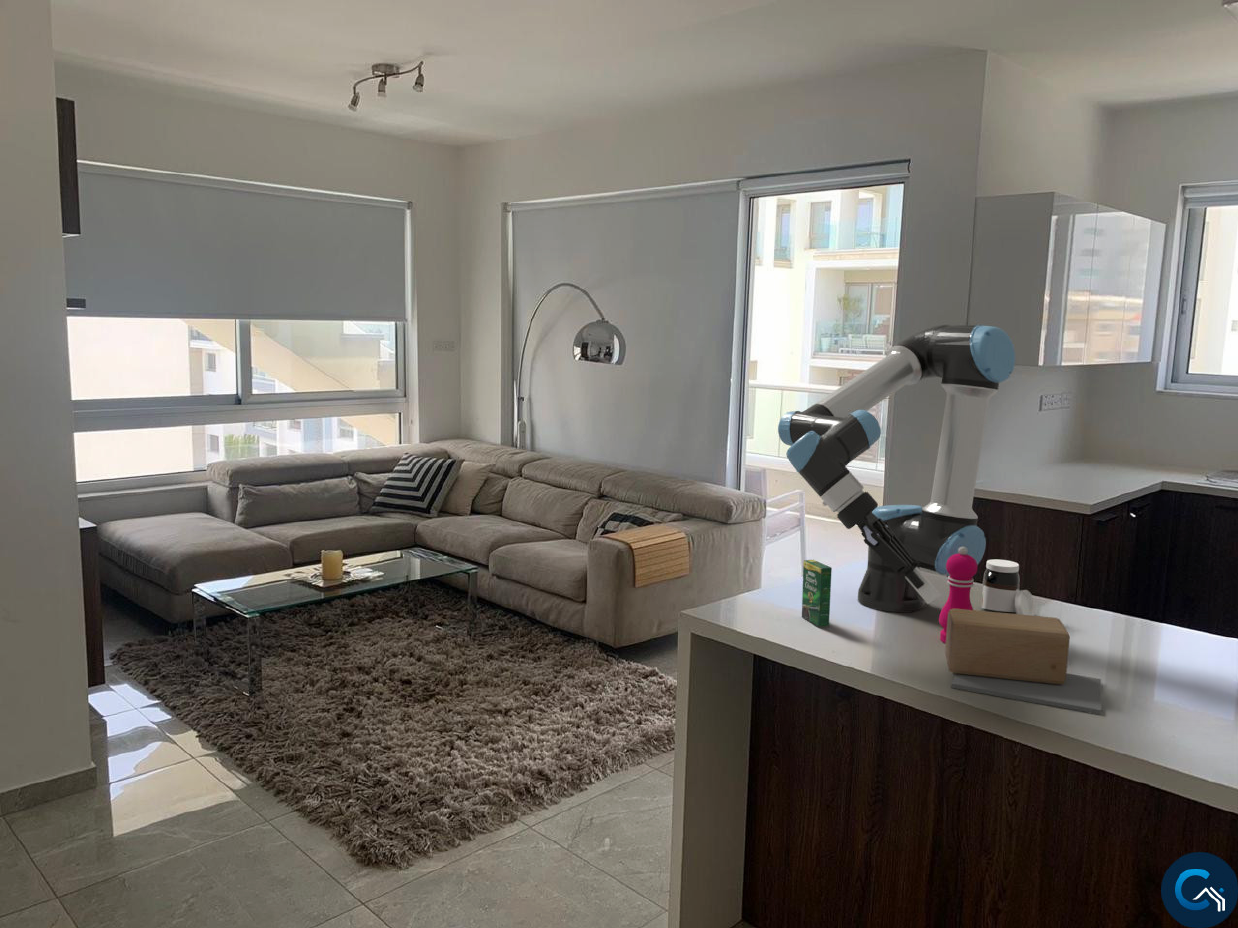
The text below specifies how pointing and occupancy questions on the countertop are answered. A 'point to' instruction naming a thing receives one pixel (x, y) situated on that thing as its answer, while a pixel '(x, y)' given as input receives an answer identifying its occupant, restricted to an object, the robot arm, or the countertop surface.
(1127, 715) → the countertop surface
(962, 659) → the wooden block
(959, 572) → the pepper mill
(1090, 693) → the mat
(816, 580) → the coffee box
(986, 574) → the spread jar
